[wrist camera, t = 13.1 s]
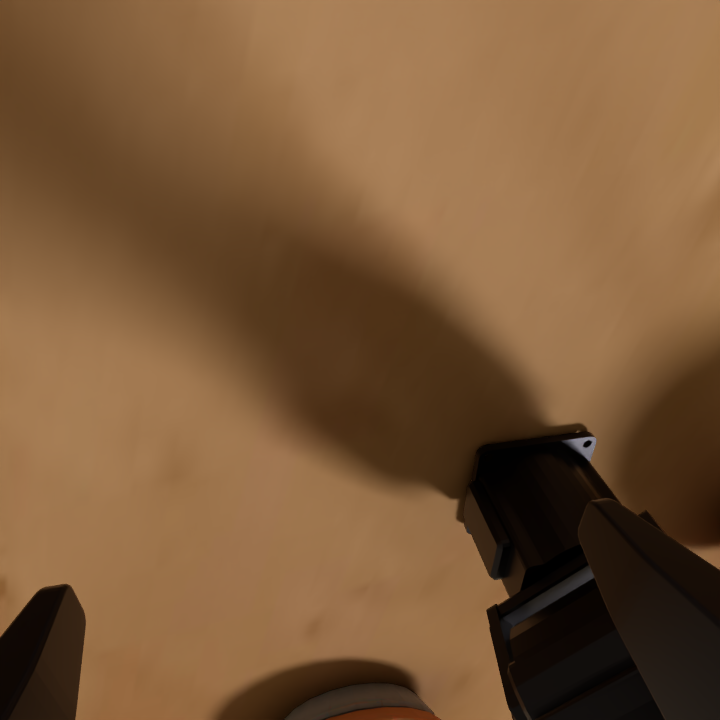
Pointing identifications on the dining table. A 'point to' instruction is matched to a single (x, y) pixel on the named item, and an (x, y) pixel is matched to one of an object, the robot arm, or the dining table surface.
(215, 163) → the dining table surface
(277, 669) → the dining table surface
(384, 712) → the pie
